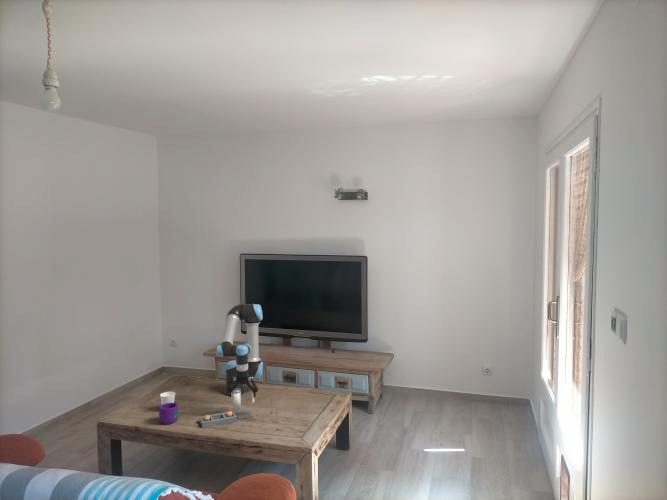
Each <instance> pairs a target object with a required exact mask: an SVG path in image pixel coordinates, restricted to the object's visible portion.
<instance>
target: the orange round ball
mask: <svg viewBox="0 0 667 500" xmlns="http://www.w3.org/2000/svg"><path fill="white" fill-rule="evenodd" d="M210 415H211V414H205V415H203V416H204V421H209V420H210Z"/></svg>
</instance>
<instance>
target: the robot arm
mask: <svg viewBox="0 0 667 500" xmlns="http://www.w3.org/2000/svg"><path fill="white" fill-rule="evenodd" d="M262 308H263V307H262V306H261V304H258V303H257V304H255V303H250V304H249V303H246V304H245V303H243V304H242V303H240V304H236V305H234V306H233V307H231V309H230V310H229V311H228V312H227V314H226V316H225V321H226V323H225V327H224V331H223V336H222V338H221V344H219V345H217V346H216V348H215V349H216V350H215V355H216V356H217V358H218V357H219V358H227V357H228V358H231V357H234V358H235V359H232V360H229V361H228V362H226V364H225V380H226V381H225V385H224V389H223V394H224V395H226V396H229V398H231V399H230V401H231V404H233V389H235V388H240V389H241V395H242V394H244V393H246V388H245V386H247V387H248V388H249V389H250V390H251V392H252V393H251V402H252V404H254V403H255V399H256V395H257V392H258V391H259V387H258V386H257V384H256V381H255V379H260V378H261V376H262V374H263V368H264V362H263V361H262V358H261V357H260V353H259V352H260V351H259V350H260V348H259V346H260V345H259V325H260V324H261V321H263V317H264V316H263V309H262ZM240 321H244V322H243V323H244V324H245V326H246V343H242V344H234V342H235V341H234V340H235V335H236V332H237V331H236V330H237V326H238V324H239V322H240Z"/></svg>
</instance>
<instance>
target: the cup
mask: <svg viewBox="0 0 667 500" xmlns="http://www.w3.org/2000/svg"><path fill="white" fill-rule="evenodd" d="M159 396H160V402H161V405H162V404H166V403H174V402H175V399H176V398H175V397H176V392H174V391H165V392H161V393H160V394H159Z"/></svg>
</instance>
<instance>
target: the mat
mask: <svg viewBox="0 0 667 500" xmlns="http://www.w3.org/2000/svg"><path fill="white" fill-rule="evenodd" d="M234 414H235V415H236V416H237V420H243V419H244V420H245V419H249V418H253V417H254V416H253V415H252V414H251V412H250V411H245V412H244V411H243V412H240V413H234Z"/></svg>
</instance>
